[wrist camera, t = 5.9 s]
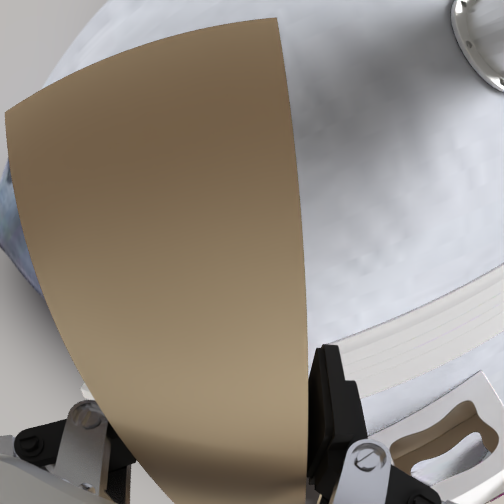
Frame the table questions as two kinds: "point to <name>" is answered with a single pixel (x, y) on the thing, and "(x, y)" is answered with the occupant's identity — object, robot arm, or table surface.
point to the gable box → (454, 439)
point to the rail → (178, 255)
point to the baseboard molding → (425, 335)
